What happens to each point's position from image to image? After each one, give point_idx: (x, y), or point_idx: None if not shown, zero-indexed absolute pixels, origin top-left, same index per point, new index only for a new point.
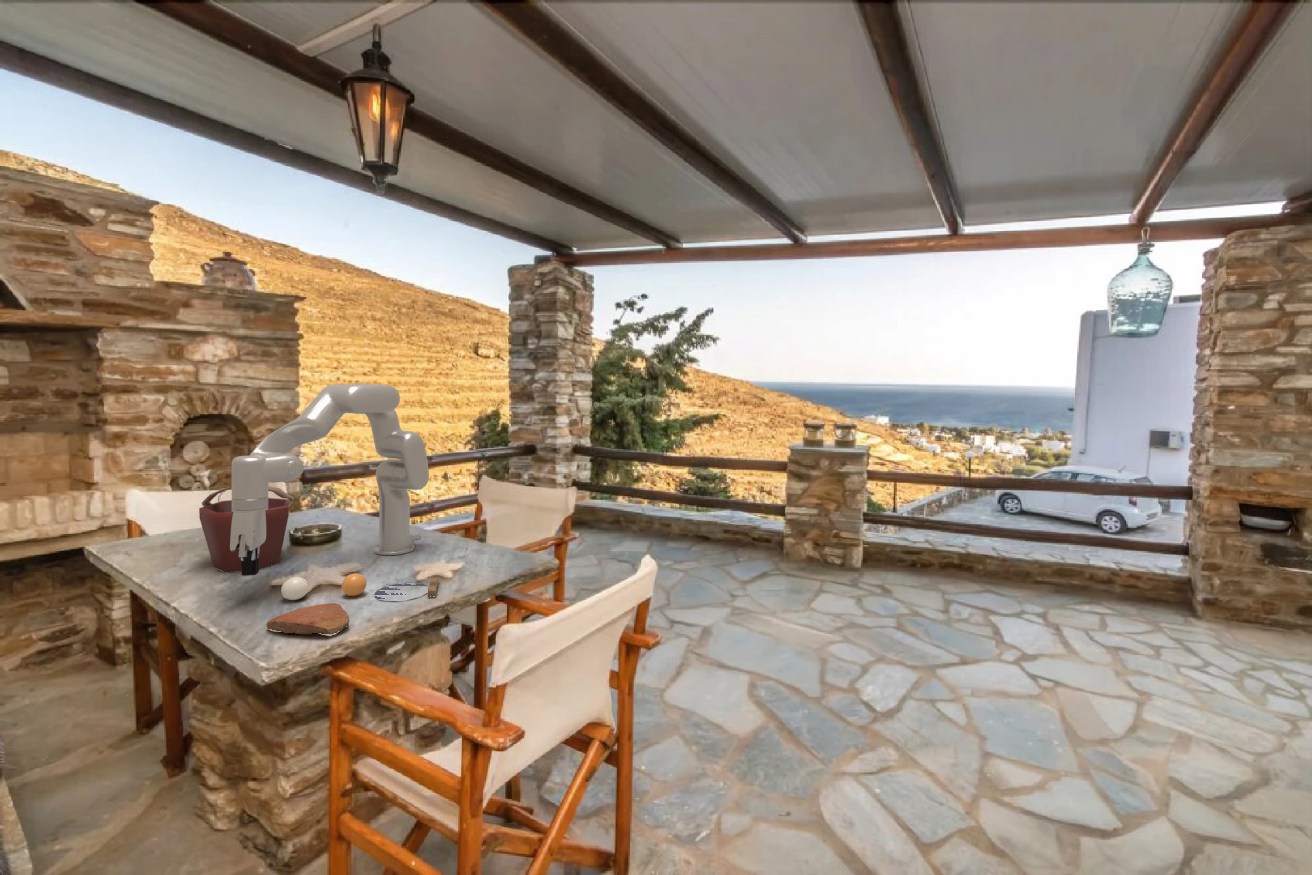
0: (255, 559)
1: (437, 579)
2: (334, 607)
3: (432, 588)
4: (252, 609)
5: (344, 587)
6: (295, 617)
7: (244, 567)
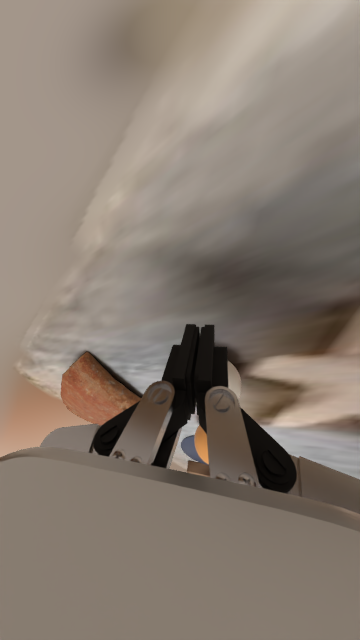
0: (188, 415)
1: None
2: None
3: (196, 474)
4: (167, 308)
5: (197, 434)
6: (70, 398)
7: (168, 360)
